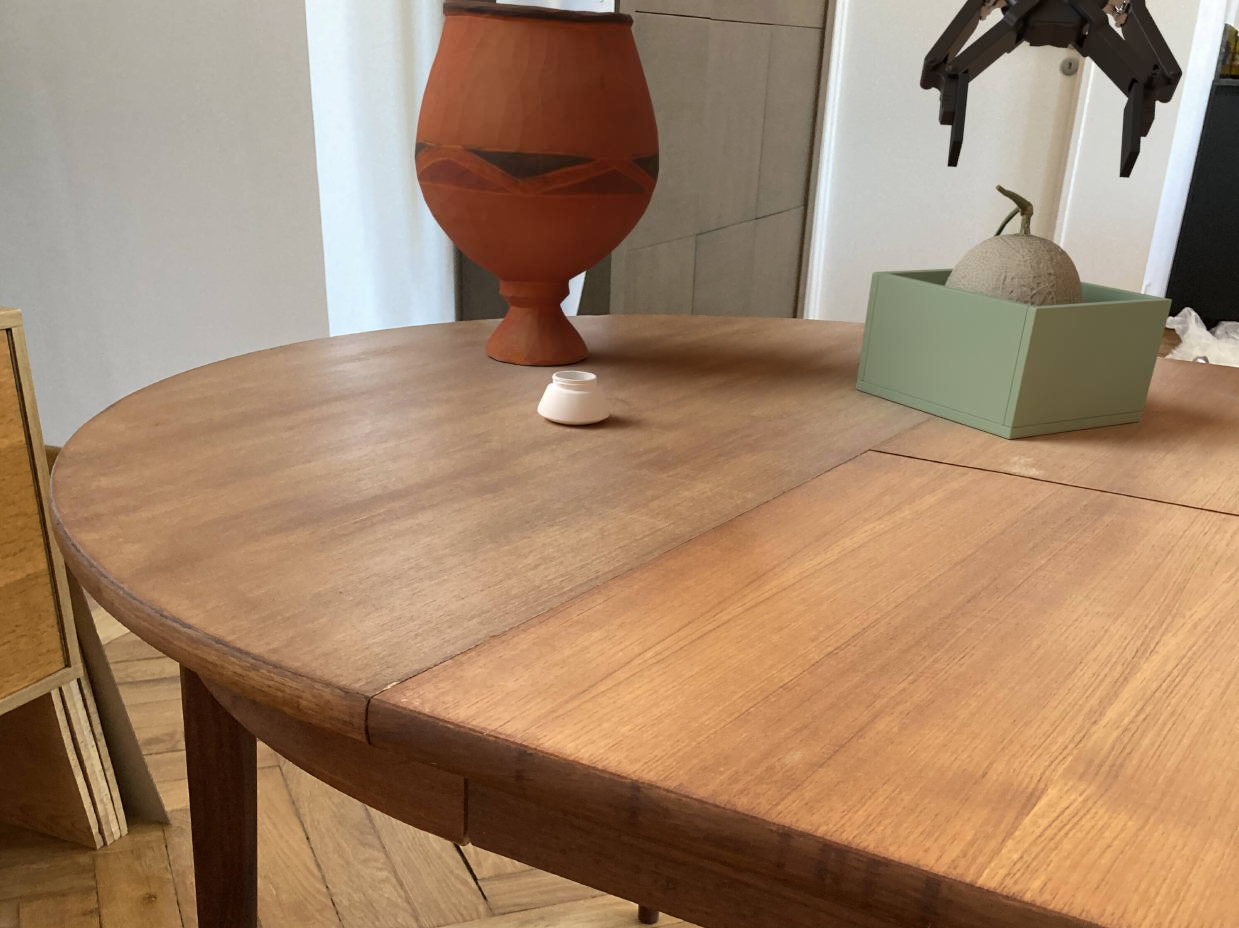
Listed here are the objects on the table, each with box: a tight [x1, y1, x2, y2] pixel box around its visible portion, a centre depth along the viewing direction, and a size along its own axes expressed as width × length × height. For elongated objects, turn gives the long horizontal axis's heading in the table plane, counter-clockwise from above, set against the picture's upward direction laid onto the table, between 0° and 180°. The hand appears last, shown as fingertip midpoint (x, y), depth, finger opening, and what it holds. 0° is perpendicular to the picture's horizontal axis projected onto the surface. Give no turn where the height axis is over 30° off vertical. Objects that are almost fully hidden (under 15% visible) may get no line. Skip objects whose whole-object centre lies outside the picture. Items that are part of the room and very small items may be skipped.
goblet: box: [414, 0, 660, 367], centre depth 100 cm, size 19×19×25 cm
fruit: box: [945, 184, 1083, 306], centre depth 95 cm, size 10×12×15 cm
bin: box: [855, 268, 1173, 440], centre depth 97 cm, size 17×15×9 cm
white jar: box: [537, 370, 610, 426], centre depth 88 cm, size 5×3×5 cm
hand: (1041, 160), depth 100 cm, fingers open, 13 cm apart
